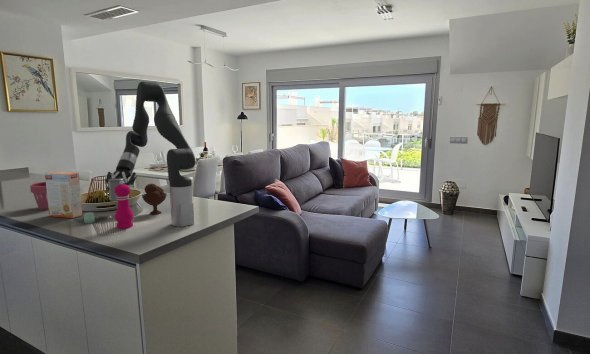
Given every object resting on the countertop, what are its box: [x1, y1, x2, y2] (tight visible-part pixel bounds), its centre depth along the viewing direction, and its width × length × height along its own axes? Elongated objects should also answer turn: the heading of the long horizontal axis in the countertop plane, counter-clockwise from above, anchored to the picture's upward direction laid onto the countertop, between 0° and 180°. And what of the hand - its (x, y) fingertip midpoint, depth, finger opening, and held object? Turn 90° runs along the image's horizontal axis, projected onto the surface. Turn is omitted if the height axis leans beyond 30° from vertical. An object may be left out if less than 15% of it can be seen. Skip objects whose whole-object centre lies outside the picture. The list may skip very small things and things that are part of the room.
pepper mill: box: [114, 181, 135, 230], centre depth 145 cm, size 7×7×20 cm
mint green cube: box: [83, 212, 96, 224], centre depth 152 cm, size 4×4×4 cm
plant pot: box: [29, 181, 49, 211], centre depth 176 cm, size 14×14×13 cm
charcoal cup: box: [107, 178, 124, 202], centre depth 163 cm, size 6×6×10 cm
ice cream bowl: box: [141, 183, 168, 216], centre depth 166 cm, size 11×11×15 cm
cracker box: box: [44, 171, 83, 219], centre depth 160 cm, size 14×6×21 cm, turn 74°
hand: (115, 190), depth 162 cm, fingers closed on charcoal cup, 6 cm apart
